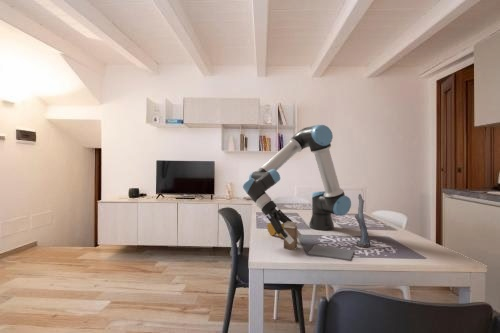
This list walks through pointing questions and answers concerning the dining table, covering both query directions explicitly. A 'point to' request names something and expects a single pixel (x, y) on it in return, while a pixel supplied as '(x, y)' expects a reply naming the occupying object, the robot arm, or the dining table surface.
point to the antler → (362, 225)
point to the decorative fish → (273, 230)
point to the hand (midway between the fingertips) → (296, 239)
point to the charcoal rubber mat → (331, 252)
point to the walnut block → (291, 234)
